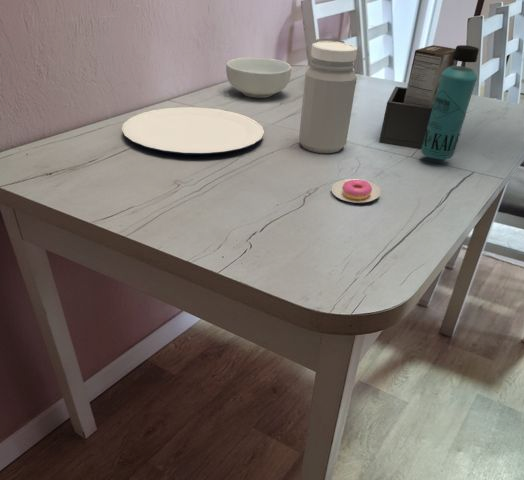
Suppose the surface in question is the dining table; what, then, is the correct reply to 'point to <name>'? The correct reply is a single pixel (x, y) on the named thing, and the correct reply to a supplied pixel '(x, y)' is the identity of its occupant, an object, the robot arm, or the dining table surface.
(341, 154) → the dining table surface
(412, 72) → the coffee box
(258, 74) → the cereal bowl
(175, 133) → the plate
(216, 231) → the dining table surface
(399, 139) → the basket
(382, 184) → the dining table surface
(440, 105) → the teal pump bottle
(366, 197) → the donut
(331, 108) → the jar
